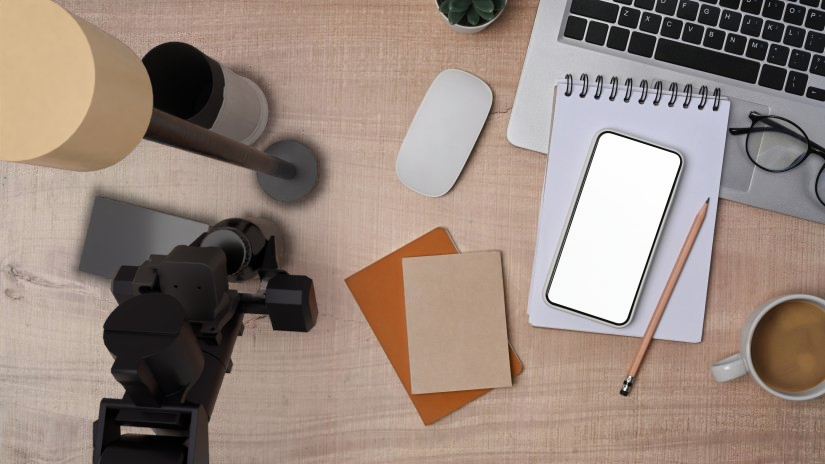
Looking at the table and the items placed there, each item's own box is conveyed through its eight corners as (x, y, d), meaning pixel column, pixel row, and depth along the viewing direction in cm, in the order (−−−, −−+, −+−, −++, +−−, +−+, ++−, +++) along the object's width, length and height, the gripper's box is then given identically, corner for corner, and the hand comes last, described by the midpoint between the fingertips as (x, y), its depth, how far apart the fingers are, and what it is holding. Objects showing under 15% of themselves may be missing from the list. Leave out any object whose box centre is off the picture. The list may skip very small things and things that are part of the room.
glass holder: (264, 153, 70) (216, 134, 55) (145, 141, 71) (66, 119, 56) (272, 78, 70) (225, 38, 55) (152, 67, 71) (75, 25, 56)
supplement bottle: (223, 268, 71) (178, 277, 59) (237, 211, 71) (195, 209, 59) (280, 282, 70) (246, 294, 59) (293, 225, 70) (263, 225, 58)
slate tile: (193, 299, 71) (191, 300, 70) (80, 270, 72) (77, 270, 71) (211, 224, 71) (209, 224, 70) (98, 196, 71) (95, 196, 71)
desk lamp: (293, 214, 70) (19, 196, 25) (248, 174, 71) (-104, 84, 25) (332, 169, 70) (129, 67, 25) (287, 129, 70) (4, -46, 25)
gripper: (284, 315, 47) (320, 182, 58) (50, 302, 48) (129, 173, 59) (302, 389, 55) (331, 260, 66) (102, 376, 56) (163, 251, 67)
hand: (240, 236), depth 64 cm, fingers closed on supplement bottle, 7 cm apart
